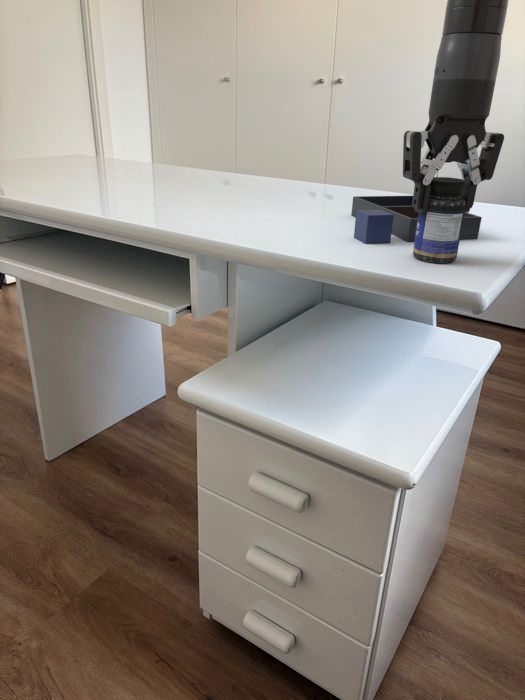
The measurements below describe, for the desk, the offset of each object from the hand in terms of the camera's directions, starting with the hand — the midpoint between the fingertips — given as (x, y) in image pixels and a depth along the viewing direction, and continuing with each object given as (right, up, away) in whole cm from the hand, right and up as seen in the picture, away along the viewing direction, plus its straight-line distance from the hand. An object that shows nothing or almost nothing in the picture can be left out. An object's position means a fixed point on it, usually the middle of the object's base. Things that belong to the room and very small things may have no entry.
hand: (441, 211), depth 75 cm
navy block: (-7, -1, +12) cm, 14 cm away
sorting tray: (+2, +3, +23) cm, 23 cm away
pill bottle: (0, -6, +3) cm, 7 cm away
